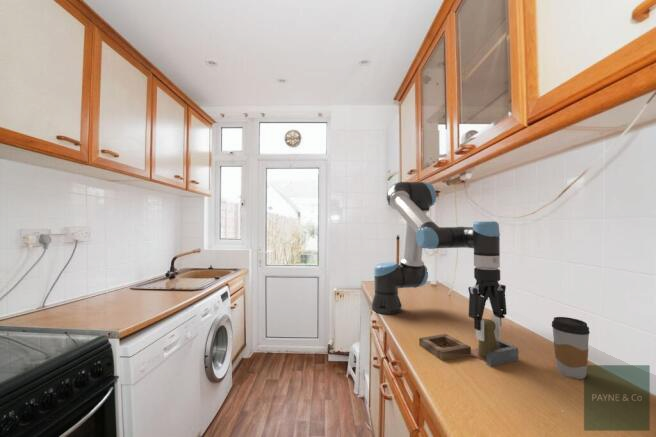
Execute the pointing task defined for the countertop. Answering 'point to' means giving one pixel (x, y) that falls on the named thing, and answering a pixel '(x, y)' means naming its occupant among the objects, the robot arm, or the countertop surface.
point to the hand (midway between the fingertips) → (488, 337)
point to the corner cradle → (499, 354)
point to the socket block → (446, 353)
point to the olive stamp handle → (488, 338)
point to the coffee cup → (571, 346)
